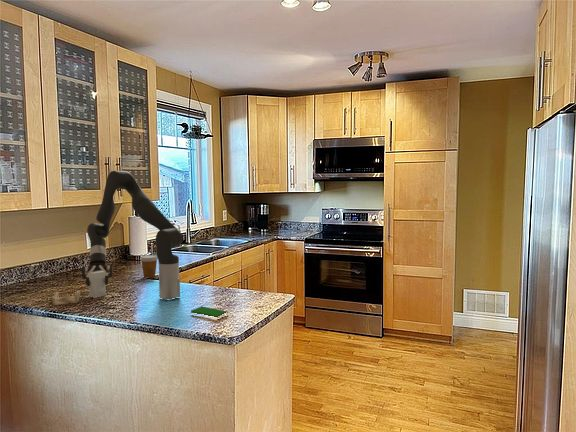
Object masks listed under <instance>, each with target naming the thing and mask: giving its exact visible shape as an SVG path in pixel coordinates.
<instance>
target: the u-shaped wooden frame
mask: <svg viewBox="0 0 576 432" xmlns="http://www.w3.org/2000/svg"><path fill="white" fill-rule="evenodd" d="M59 296H60V294H59V291H56V292H55V293H54V295H53V297H52V300H51V301H52V305H53V306H58V305H69V303H70V304H79V303H78V302H79V300H80V298H79V297H81V290H80V289H79V290H77V291H76V293H75V295H72V296H71V295H70V296H61V297H59Z"/></svg>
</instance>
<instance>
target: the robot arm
mask: <svg viewBox="0 0 576 432" xmlns="http://www.w3.org/2000/svg"><path fill="white" fill-rule="evenodd" d="M117 190H125V191H126V192H127V193H128V194H129V195H130V197H131V206H132V209H133V211H134V212H135V214H136V215H138V218H140V219H141V221H142V220H143V221H144V222H146V223H147V224H149V225H151V226H152V227H154V228H156V229H157V230H158V231H157V233H156V235H155V248H156V249H155V252H156V256H157V258H158V259H157V261H158V287H159V288H158V289H159V290H158V291H159V292H158V293H159V294H158V296H159V297H160V298H162V299H172V298H176V297H180V298H181V282H180V281H181V279H180V262H179V261H180V258H179V255H176V254H173V252H172V248H177V247H180V246H181V244H182V243H183V235H182V233H181V231H180V230H179V229H178V228H177V227H176V226H175V225H174V224H173V223H172V222H170V220H168V218H167V217H166V216H165V215H164V214H163V213H162V212H161V211H160V209H159V208H158V207H157V205H156V204H155V203H154V202H153V200H151V199H150V197H148V195H147V194H146V193H145V192H144V190H143V189H142V188H141V187H140V185H139V183H138V181H137V180H136V178H135V177H134V175H133V174H132V173H130V172H129V171H127V170H111V171H110V172H109V173H108V175H107V178H106V182H105V186H104V191H103V197H102V201H101V204H100V207H99V209H98V212H97V214H96V217H95V218H96V221H97V222H98V223H96V222H91V223H89V225H87V229H86V231H87V236H88V238H89V242H90V249H89V262H88V263H89V264H88V266H84V265H82V266H81V277H82V279H83V280H85V285H86V286H87V287H89V273H90V272H95V271H99V270H101V271H105V285H106V286H107V285H108V284H109V278H113V276H114V274H113V273H114V267H113V263H112V264H110V265H107V249H106V242H107V240H106V239H105V238H107V237H108V236H109V235H110V228H111V227H110V225H111V221H112V218H113V215H114V214H115V209H116V204H115V201H114V196H115V193H116V191H117ZM100 223H101V224H100ZM107 269H108V271H109V272H107V271H106V270H107ZM87 271H88V273H87V275H86V272H87Z"/></svg>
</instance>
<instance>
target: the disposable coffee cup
mask: <svg viewBox="0 0 576 432" xmlns="http://www.w3.org/2000/svg"><path fill="white" fill-rule="evenodd" d="M139 260H140V263H141V268H142V269H141V270H142V273H143V278H144V279H152V278H153V279H154V278H156V273H157V263H158V262H157V261H158V258H157V254H145V255H142V256H141V257H140V259H139Z"/></svg>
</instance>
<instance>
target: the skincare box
mask: <svg viewBox="0 0 576 432" xmlns="http://www.w3.org/2000/svg"><path fill="white" fill-rule="evenodd" d="M105 271H106V270H105ZM105 271H101V270H99V271H95V272H90V273H89V272H88V273H89V286H88V287H89V297H90V298H92V297H93V299H97V297H98V298H100V297H104V296H107V289H106V288H107V287H106V286H107V285H105Z"/></svg>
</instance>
